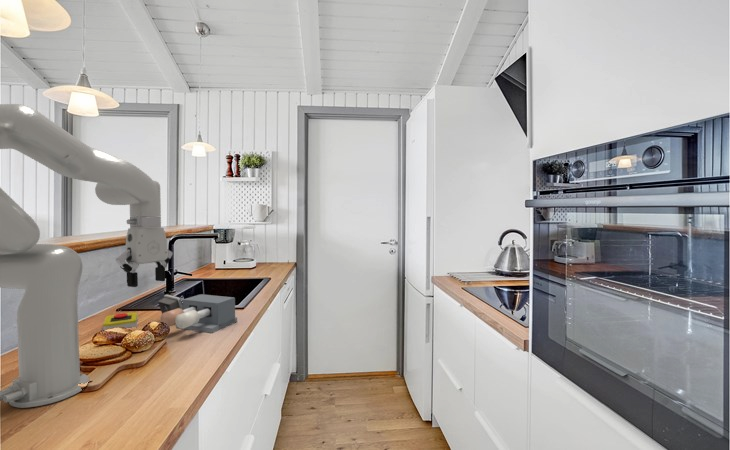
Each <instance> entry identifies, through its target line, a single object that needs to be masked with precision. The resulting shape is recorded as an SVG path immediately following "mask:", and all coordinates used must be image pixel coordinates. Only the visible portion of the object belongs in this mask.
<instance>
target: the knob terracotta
mask: <svg viewBox="0 0 730 450" xmlns="http://www.w3.org/2000/svg"><path fill="white" fill-rule="evenodd" d="M191 310H196V311H197V306H194V307H190V308H187V309H184V310H182V309H180V308H177V309H174V310H171V311H168V312H165V313H163V314H162V313H161V315H160V323H161V322H164V323H166V324H167V325H168V327H170V326H174V325H176V322H175V319H176V317H177V315H179V314H182V313H185V312H188V311H191Z"/></svg>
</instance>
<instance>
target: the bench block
mask: <svg viewBox="0 0 730 450" xmlns="http://www.w3.org/2000/svg"><path fill="white" fill-rule="evenodd" d="M182 305H183V310H184V309H187V308H190V307H194V306H197V312H198V311H201V310H204V309H207V308H211V315H209V316H206V317H203V318H201V319H199V322H198V323H196V324H194V325H191V326H189V327H186V328H183V329H182V330H188V331H196V332H202V333H208V334H209V333H210V334H213V333H215V332H217V331H220V330H221V329H224V328H226V326H227V327H228V326H230V325H233V324H235V322H236V323H238V316H237V317H236V298H235V297H234V296H233V297H232V296H221V295H213V294H212V295H211V294H203V293H201V294H197V295H194V296H189V297H187V298H183V299H182ZM175 329H179V328H178V327H177V325H176V324H175Z"/></svg>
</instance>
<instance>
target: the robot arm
mask: <svg viewBox="0 0 730 450" xmlns="http://www.w3.org/2000/svg"><path fill="white" fill-rule="evenodd" d="M8 149H9V150H10V149H11V150H15V151H17V152H19V153H21V154H23V155H24V156H26V157H29V158H30V159H32V160H34V161H36V162H37V163H39V164H41V165H43V166H45V167H47V168H48V169H50V170H52V171H53V172H54V173H57V174H58V175H60V176H63V177H67V178H70V179H74V180H78V181H85V182H90V183H96V185H95V188H94V191H95V192H94V193H95V195H96V197H97V198H98V199H99V200H100V201H101V202H103V203H105V204H107V205H112V206H127V205H128V206H129V219H127V220H126V224H127V225H129V228H128V229H127V232H126V239H125V251H124V252H123V253H121V254H120V255H119V256H118V257H116V258H115V262H116V263H117V264H118V265H119V267H120V269H122V270H123V272H124V273H126V283H127V284H126V285H127V287H129V288H130V287H131V288H137V287H138V285H139V283H138V280H139V279H138V277H139V276H138V271H137V269H138V267H139V265H143V264H151V263H155V266H156V267H155V270H154V271H155V273H154V274H155V281H157V282H165V281H166V268H167V267H168V264H169V262H170V261H171V258H172V256H173V255H174V253H173V251H171V250H170V249H168V243H167V235H166V232H165V229H164V227H162V217H161V216H162V215H161V214H162V213H161V212H162V209H161V208H162V207H161V206H162V205H161V202H162V201H161V184H160V183H159V182H158V181H156V180H153V178H151V177H150V176H149V175H148V174H147V173H145V172H144V171H143V170H141V169H140V168H139V167H137V166H136V165H134V164H133V163H131V162H129V161H126V160H124V159H122V158H119V157H117V156H114V155H112V154H109V153H107V152H104V151H101V150H99V149H96V148H94V147H91V146H90V145H87V144H85V143H84V142H83V141H81V140H80V139H78V138H77V137H76V136H74V135H72V134H71V133H69V131H66V130H65V129H64V128H62V127H61V126H59V125H58V124H57V123H55V122H54V121H52V120H51V119H49V118H48V117H46V115H44V114H42V113H41V112H39V111H38V110H37V109H34V108H32V107H30V106H28V105H24V104H20V103H19V104H18V103H2V104H0V150H8ZM40 236H41V230H40V228H39V225H38V224H37V223H36V221H35V219H33V217H32V216H31V215H29V214H28V213H27V212H26V211H25V210H24V209H23V208H22V207H21V206H20V205H19V204H18V203H17V202H16V200H14V199H13V198H12V197H11V196H10V195H8V193H7V192H5V190H3V189H2V188H1V186H0V288H1V289H9V290H10V289H12V290H15V289H16V290H24V294H23V296H22V298H21V300H20V302H19V303H18V304H19V305H18V307H17V311H16V326H17V327H16V328H17V329H16V331H17V353H18V354H17V356H18V359H17V362H18V377H17V378H14V379H13V380H12V384H10V385H8V386H7V387H6V388H5V389H2V390H0V402H2V401H3V403H5V404H6V403H9V405H10V406H11V407H14V408H19V409H20V408H21V409H26V408H34V407H41V406H46V405H49V404H54V403H56V402H60V401H62V400H66V399H68V398H71V397H73V396H75V395H77V394H78V393H80V392H81V391H83V390H82V389H81V386H78V384H81V383H83V384H85V383H87V382H88V381H89V382H90V377H89V375H87V374H85V373H81V370H80V367H81V366H80V364H81V363H80V341H79V340H80V337H79V335H80V333H79V310H78V309H79V304H78V303H79V299H78V298H79V289H80V283H81V278H82V273H83V260H82V258H81V256H80V255H79V253H78V252H77V251H75V250H74V249H72V248H71V247H68V246H65V245H61V244H50V243H49V244H47V243H38V242H39V241H40V238H41V237H40ZM136 271H137V272H136Z"/></svg>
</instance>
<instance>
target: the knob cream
mask: <svg viewBox="0 0 730 450" xmlns="http://www.w3.org/2000/svg"><path fill="white" fill-rule="evenodd" d="M209 315H211V308H207V309H204V310H201V311H198V312H197V311H196V310H191V311H188V312H185V313H182V314H179V315H177V317H176V319H175V322H176V324H175V326H176V325H177V327H178V328H177V329H181V330H184V329H183V328H186V327H189V326H191V325H194V324H196V323H198V322H199V319H201V318H203V317H206V316H209Z"/></svg>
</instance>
